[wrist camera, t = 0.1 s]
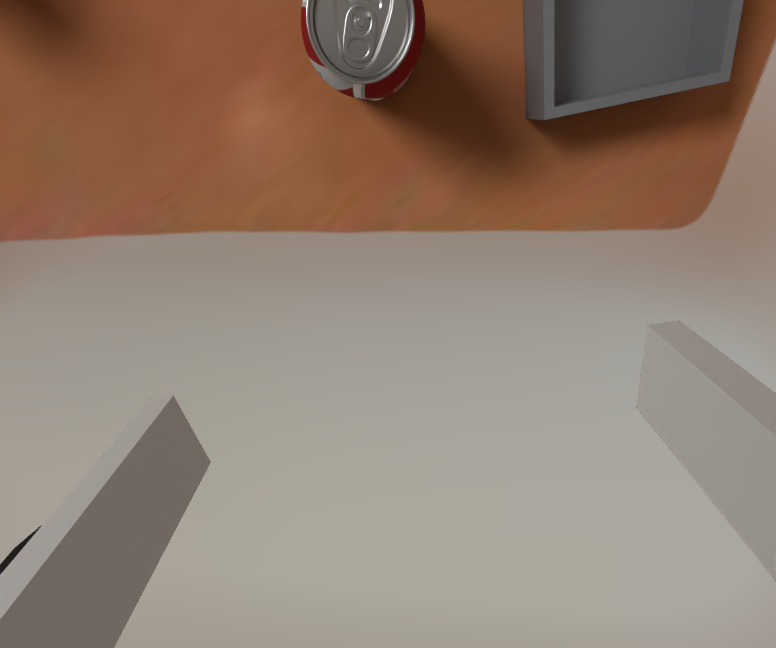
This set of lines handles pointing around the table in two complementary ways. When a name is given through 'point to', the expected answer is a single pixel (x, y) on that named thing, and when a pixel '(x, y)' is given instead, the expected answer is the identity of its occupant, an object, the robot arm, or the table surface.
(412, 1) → the soda can
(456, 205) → the table surface
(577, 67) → the big crate
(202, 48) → the table surface
